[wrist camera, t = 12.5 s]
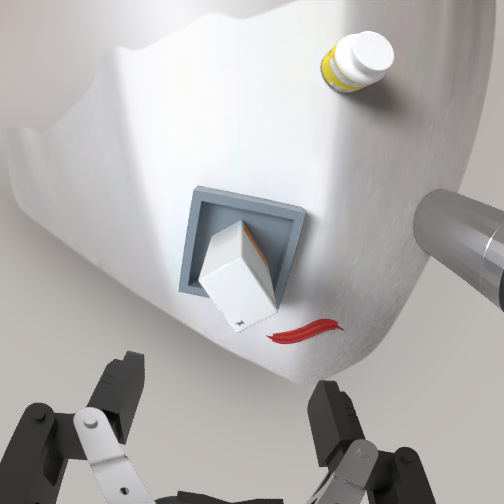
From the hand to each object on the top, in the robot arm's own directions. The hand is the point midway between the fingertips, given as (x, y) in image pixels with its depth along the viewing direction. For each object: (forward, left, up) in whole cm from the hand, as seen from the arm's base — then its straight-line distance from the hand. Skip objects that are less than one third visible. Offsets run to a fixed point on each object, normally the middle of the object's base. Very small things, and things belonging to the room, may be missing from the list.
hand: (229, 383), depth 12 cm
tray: (-1, +2, -24) cm, 24 cm away
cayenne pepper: (-12, +12, -25) cm, 30 cm away
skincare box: (-1, +2, -24) cm, 24 cm away
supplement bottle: (-8, -21, -24) cm, 33 cm away
